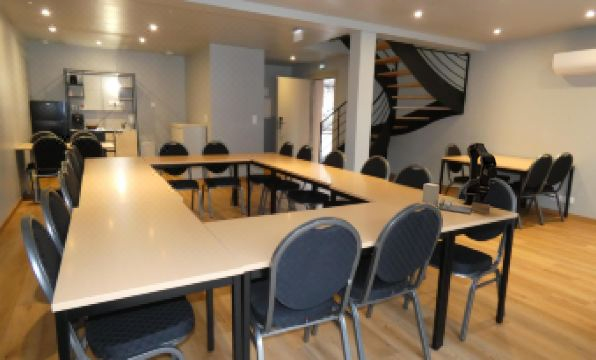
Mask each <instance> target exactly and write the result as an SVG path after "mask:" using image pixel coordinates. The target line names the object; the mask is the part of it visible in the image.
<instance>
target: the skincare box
mask: <svg viewBox="0 0 596 360" xmlns="http://www.w3.org/2000/svg"><path fill="white" fill-rule="evenodd" d="M439 192H440V184H437V183H430V182H427V183H423V188H422V200H421V201H422V202H425V203H431V204H433V205H435V206H436V207H438V208H439V197H440V193H439Z"/></svg>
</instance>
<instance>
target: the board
mask: <svg viewBox="0 0 596 360" xmlns="http://www.w3.org/2000/svg"><path fill="white" fill-rule="evenodd" d="M445 200H446V199H445V198H444V197H443V198H441V200H440V201H439V202H438V209H440V210H439V211H442V212H443V211H445V212H451V213H455V214H462V215H463V214H464V215H469V216H471V212H472V211H471V208H472V206H471V207H470V206H463V205H455V204H452V203H453V199H447V202H445Z"/></svg>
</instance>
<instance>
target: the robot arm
mask: <svg viewBox="0 0 596 360" xmlns="http://www.w3.org/2000/svg"><path fill="white" fill-rule="evenodd" d="M466 152H467V156H468V158H469V177H468V181H467V183H466V185H465V186H464V189H463V191H462V194H463V195H464V196H465V200H464V202H463V204H464V205H469V206H472V202H474V203H476V202H475V201H476V200H475V199H476V197H479V201H480V202H479V203H483V202H484V200H485V198H486V197H487V195H488V194H489V192H490V182H491V179H495V178H496V177H497V176H498V171H497V169H495V168H497V160H496V157H495V156H494V155H493V154H492V153H489V151H488V150H487V148H486V146H485V143H483V142H476V143H474V144H470V145H469V146H468V147H467V148H466ZM479 157H480V158H479ZM479 162H480V173H479V176H478V164H479Z"/></svg>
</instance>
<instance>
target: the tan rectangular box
mask: <svg viewBox="0 0 596 360" xmlns="http://www.w3.org/2000/svg"><path fill="white" fill-rule="evenodd" d="M490 208H491V204H485V203H482V202H472V205H471V212H472V211H473V212H474V213H478V212H480V213H479V214H485V213H487V214H486V215H490V210H491V209H490Z"/></svg>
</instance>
